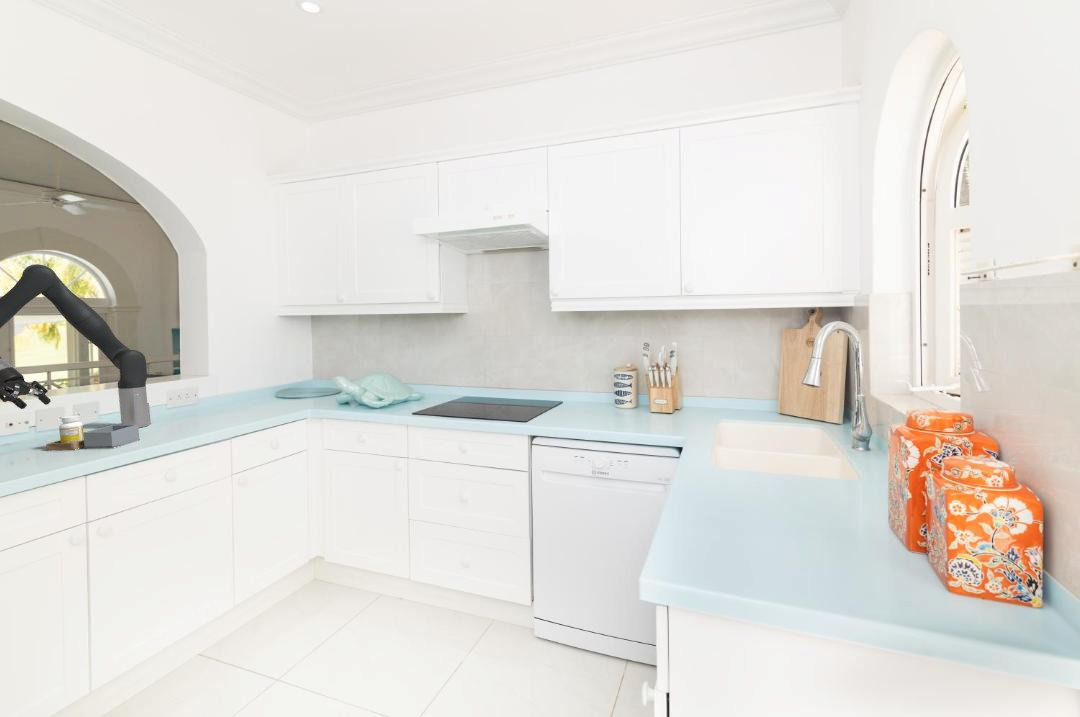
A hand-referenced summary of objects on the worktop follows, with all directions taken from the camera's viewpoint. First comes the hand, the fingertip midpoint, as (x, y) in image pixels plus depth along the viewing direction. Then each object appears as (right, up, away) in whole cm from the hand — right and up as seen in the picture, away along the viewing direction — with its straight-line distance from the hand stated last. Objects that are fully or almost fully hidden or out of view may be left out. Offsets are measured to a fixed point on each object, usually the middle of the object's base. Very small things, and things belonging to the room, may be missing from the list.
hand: (36, 405), depth 180 cm
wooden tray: (+12, -15, +1) cm, 20 cm away
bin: (+24, -15, +4) cm, 29 cm away
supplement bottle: (+12, -16, +1) cm, 20 cm away
